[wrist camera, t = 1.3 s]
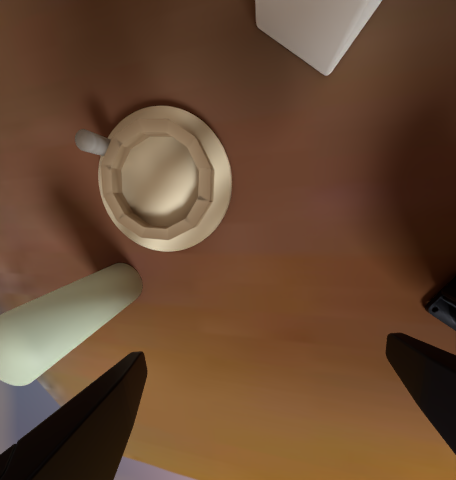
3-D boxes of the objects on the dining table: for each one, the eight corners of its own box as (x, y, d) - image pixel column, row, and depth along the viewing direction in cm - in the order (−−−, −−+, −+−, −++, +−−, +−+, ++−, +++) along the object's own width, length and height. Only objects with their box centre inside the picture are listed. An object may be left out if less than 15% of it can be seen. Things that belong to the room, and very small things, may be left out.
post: (149, 278, 23) (49, 349, 12) (131, 309, 24) (26, 398, 13) (114, 254, 23) (-14, 304, 12) (98, 286, 24) (-32, 356, 13)
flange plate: (260, 161, 19) (259, 151, 15) (188, 273, 22) (172, 289, 18) (139, 80, 19) (108, 50, 15) (86, 202, 22) (48, 203, 18)
